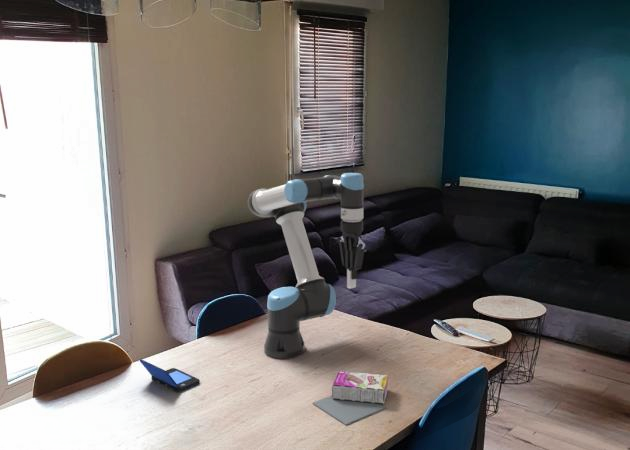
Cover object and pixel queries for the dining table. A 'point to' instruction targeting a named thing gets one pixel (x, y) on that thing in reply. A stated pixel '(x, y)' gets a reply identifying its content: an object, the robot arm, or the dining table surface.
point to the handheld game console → (171, 377)
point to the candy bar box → (360, 387)
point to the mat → (348, 409)
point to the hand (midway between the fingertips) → (351, 287)
